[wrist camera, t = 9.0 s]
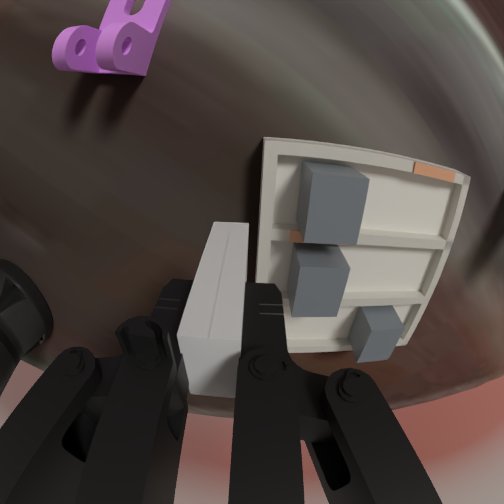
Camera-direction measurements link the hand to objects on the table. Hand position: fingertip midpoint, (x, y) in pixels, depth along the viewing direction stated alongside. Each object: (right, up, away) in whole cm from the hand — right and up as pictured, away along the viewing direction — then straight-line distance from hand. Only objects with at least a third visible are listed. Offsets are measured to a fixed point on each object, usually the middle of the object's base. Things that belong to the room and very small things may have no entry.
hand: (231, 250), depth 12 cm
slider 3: (+14, -8, +16) cm, 23 cm away
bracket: (-9, +21, +2) cm, 23 cm away
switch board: (+11, -1, +14) cm, 18 cm away
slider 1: (+7, +5, +9) cm, 12 cm away
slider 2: (+6, -1, +12) cm, 14 cm away
